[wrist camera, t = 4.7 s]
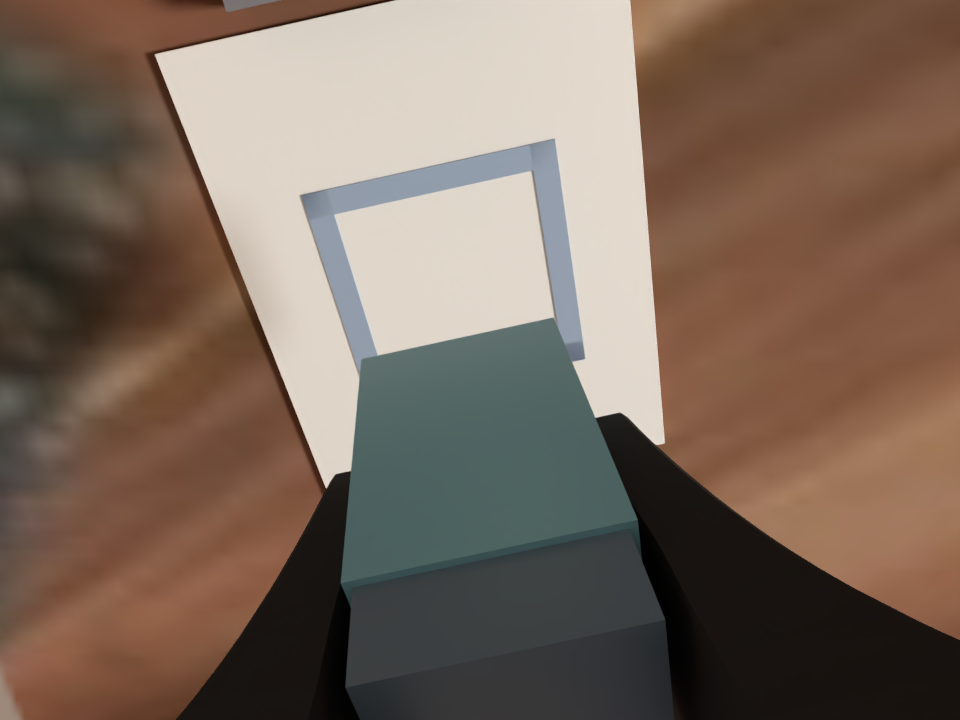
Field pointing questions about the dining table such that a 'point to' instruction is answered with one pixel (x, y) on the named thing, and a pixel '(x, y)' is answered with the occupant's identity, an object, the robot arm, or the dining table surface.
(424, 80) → the paper
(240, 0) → the button housing
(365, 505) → the teal block
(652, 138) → the dining table surface
